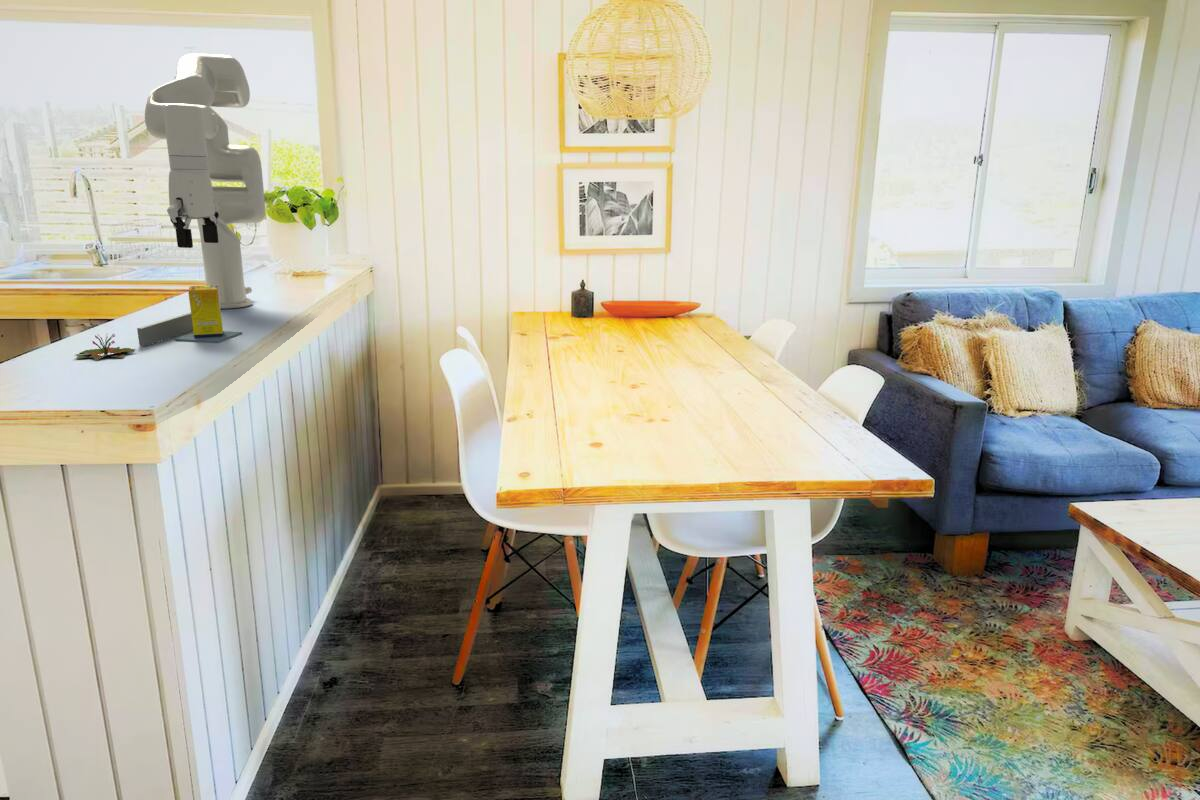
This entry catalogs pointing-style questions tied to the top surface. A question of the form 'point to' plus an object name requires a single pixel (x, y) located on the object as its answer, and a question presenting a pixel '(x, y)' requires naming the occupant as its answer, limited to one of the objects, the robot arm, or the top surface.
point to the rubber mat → (213, 339)
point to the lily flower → (104, 350)
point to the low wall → (164, 329)
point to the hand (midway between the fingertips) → (198, 245)
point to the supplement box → (205, 311)
